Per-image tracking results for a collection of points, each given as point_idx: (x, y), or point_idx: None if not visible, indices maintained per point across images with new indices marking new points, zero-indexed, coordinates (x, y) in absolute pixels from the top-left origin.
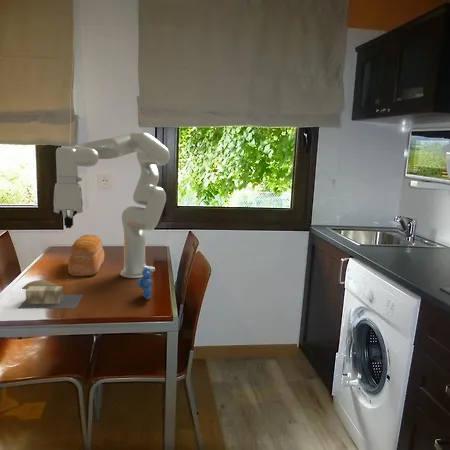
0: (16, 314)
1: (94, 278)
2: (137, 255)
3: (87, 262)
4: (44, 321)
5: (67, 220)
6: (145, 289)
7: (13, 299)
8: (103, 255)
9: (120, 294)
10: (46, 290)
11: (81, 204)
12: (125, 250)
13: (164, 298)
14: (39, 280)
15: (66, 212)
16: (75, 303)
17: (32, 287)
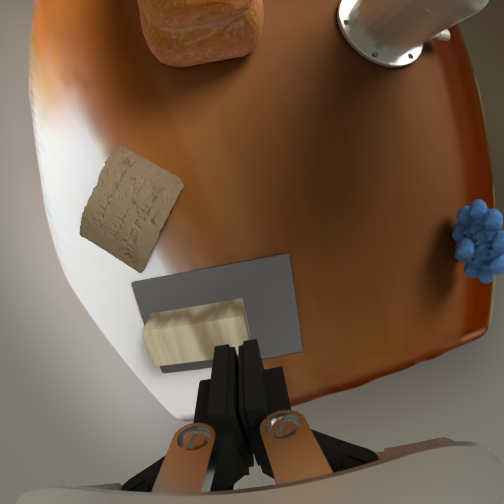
0: (178, 394)
1: (264, 73)
2: (439, 31)
3: (231, 36)
4: None
5: (251, 453)
6: (471, 273)
7: (110, 313)
8: None
9: (393, 222)
10: (211, 357)
11: (497, 471)
12: (401, 5)
13: None
14: (102, 180)
15: (208, 481)
16: (291, 324)
17: (155, 339)
